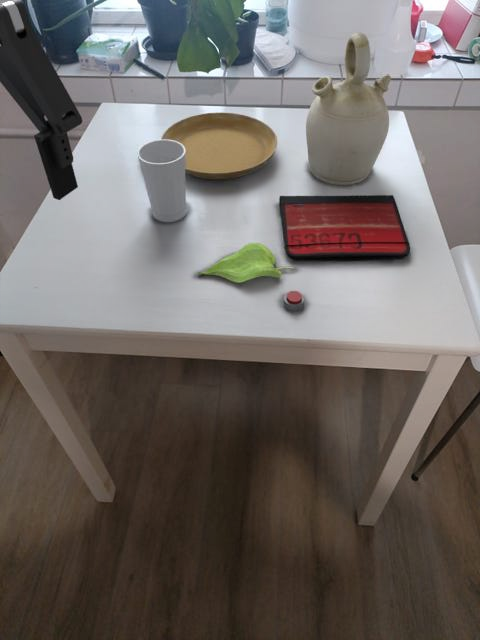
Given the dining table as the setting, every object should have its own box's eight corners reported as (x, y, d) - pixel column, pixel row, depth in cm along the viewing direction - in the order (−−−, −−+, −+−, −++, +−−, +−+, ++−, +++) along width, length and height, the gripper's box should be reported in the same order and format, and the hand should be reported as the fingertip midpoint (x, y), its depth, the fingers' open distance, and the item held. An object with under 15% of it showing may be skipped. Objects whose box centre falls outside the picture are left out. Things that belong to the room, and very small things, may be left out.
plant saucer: (271, 190, 94) (272, 175, 92) (149, 182, 96) (147, 167, 94) (280, 129, 110) (281, 115, 107) (175, 123, 112) (173, 109, 109)
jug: (298, 187, 95) (312, 48, 76) (304, 147, 105) (318, 15, 86) (378, 194, 93) (413, 54, 74) (376, 152, 103) (406, 20, 84)
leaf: (296, 285, 77) (297, 275, 75) (197, 287, 77) (196, 278, 75) (291, 248, 83) (292, 239, 81) (198, 250, 82) (198, 241, 81)
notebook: (279, 194, 89) (394, 193, 89) (278, 204, 91) (390, 203, 91) (286, 254, 79) (415, 253, 79) (285, 265, 81) (411, 263, 81)
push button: (284, 310, 73) (285, 303, 72) (282, 296, 75) (283, 289, 74) (304, 309, 73) (305, 303, 72) (302, 295, 75) (303, 288, 74)
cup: (189, 225, 87) (183, 164, 78) (144, 224, 87) (133, 164, 78) (192, 199, 92) (187, 139, 83) (150, 198, 92) (141, 139, 83)
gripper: (89, -78, 34) (134, 190, 49) (-138, -110, 42) (-37, 130, 57) (5, -58, 29) (84, 230, 45) (-232, -98, 37) (-94, 158, 53)
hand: (16, 174), depth 51 cm, fingers open, 13 cm apart
